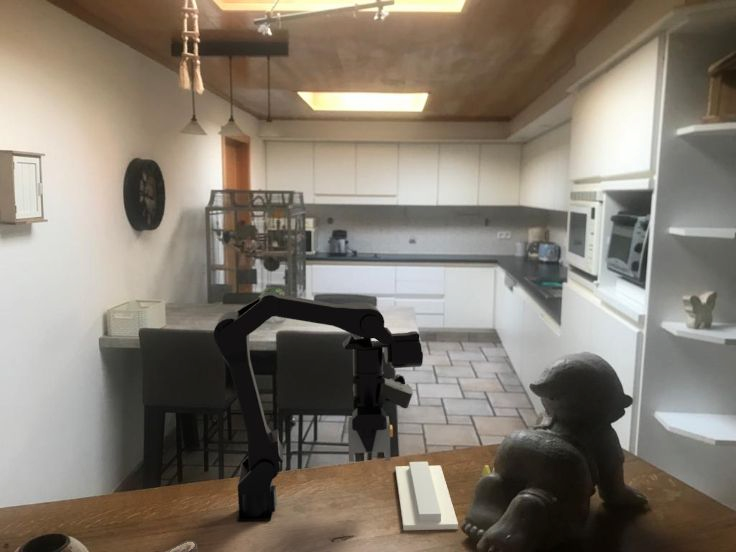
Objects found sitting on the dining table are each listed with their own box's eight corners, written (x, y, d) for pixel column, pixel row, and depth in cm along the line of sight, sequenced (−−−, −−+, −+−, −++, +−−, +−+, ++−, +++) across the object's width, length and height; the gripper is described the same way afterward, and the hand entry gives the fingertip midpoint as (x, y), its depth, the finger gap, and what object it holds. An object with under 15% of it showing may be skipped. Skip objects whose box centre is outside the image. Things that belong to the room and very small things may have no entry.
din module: (348, 461, 109) (348, 427, 107) (349, 449, 114) (348, 416, 112) (393, 460, 109) (393, 426, 108) (391, 448, 114) (391, 416, 113)
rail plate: (403, 530, 103) (403, 517, 102) (395, 470, 125) (395, 460, 124) (458, 529, 103) (458, 516, 103) (440, 469, 125) (440, 459, 124)
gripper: (414, 385, 99) (414, 467, 102) (405, 354, 118) (405, 425, 120) (351, 386, 99) (353, 469, 102) (352, 355, 118) (353, 426, 120)
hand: (369, 445), depth 111 cm, fingers closed on din module, 5 cm apart
